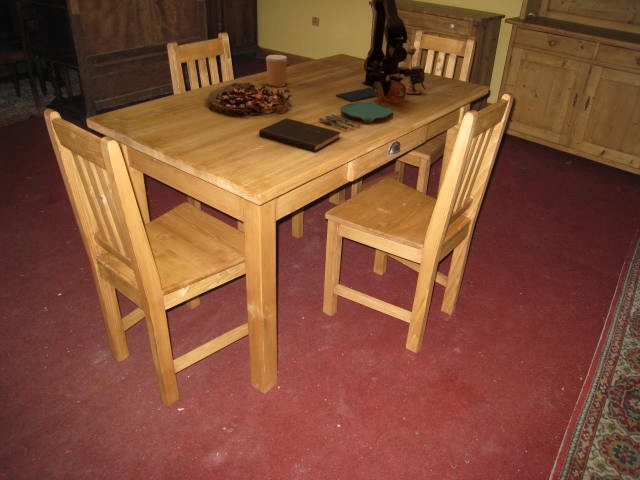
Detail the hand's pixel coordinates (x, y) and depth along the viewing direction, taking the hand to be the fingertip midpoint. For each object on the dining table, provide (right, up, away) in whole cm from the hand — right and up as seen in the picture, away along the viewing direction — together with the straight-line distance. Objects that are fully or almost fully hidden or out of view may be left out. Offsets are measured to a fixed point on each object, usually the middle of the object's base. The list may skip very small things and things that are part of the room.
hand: (388, 95), depth 213 cm
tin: (0, -2, +1) cm, 2 cm away
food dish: (-57, -6, -6) cm, 58 cm away
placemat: (-11, +3, +9) cm, 14 cm away
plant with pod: (+13, +5, +15) cm, 21 cm away
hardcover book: (-35, -25, -36) cm, 56 cm away
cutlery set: (-14, -14, -16) cm, 25 cm away
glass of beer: (-48, +10, +19) cm, 52 cm away
